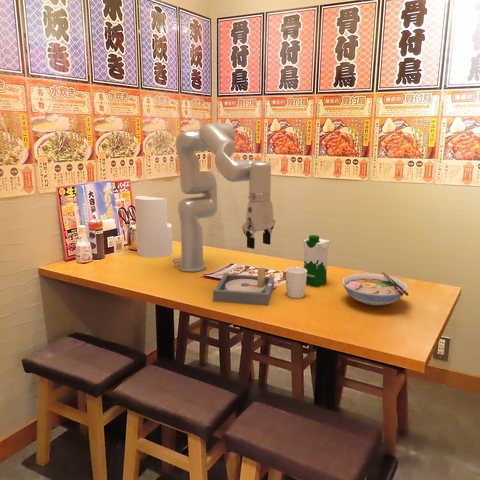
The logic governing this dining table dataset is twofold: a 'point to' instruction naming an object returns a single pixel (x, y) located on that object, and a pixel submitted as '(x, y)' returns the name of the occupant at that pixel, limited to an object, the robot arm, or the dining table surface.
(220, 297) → the dial housing
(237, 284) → the dial
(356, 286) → the ramen bowl
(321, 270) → the milk carton
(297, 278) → the white cup
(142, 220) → the cylinder
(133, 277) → the dining table surface
